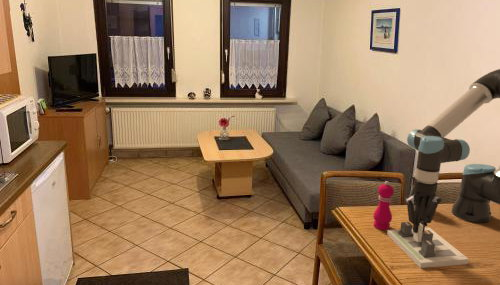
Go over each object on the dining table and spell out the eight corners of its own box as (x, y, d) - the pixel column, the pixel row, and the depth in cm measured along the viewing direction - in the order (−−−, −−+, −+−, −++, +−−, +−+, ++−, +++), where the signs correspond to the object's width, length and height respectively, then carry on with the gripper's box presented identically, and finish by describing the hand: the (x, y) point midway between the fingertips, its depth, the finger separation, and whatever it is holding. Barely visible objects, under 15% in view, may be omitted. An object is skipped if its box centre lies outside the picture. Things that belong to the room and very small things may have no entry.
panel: (428, 231, 159) (429, 226, 159) (467, 264, 137) (468, 258, 137) (386, 234, 156) (387, 229, 156) (420, 268, 134) (421, 262, 134)
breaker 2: (429, 251, 141) (431, 239, 140) (435, 256, 138) (437, 244, 137) (418, 252, 140) (420, 240, 139) (423, 257, 137) (425, 245, 136)
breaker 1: (408, 231, 154) (410, 221, 153) (413, 236, 151) (414, 225, 150) (398, 232, 153) (399, 221, 152) (402, 236, 150) (403, 225, 149)
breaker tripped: (428, 240, 148) (430, 229, 147) (433, 244, 145) (435, 233, 144) (417, 241, 147) (419, 230, 146) (422, 245, 144) (424, 234, 143)
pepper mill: (391, 231, 158) (398, 185, 153) (373, 229, 160) (378, 183, 154) (389, 223, 165) (395, 178, 160) (371, 221, 167) (376, 177, 161)
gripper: (436, 175, 143) (427, 233, 150) (403, 177, 141) (395, 236, 148) (449, 183, 136) (439, 244, 143) (415, 185, 134) (406, 246, 141)
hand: (417, 239), depth 145 cm, fingers closed
